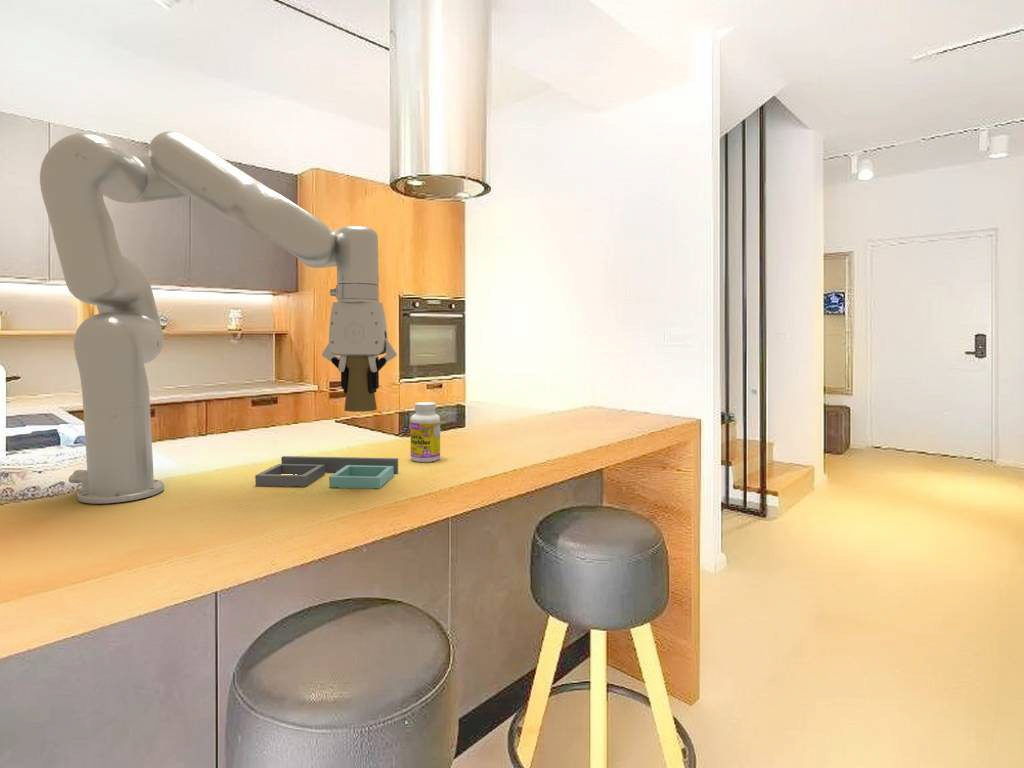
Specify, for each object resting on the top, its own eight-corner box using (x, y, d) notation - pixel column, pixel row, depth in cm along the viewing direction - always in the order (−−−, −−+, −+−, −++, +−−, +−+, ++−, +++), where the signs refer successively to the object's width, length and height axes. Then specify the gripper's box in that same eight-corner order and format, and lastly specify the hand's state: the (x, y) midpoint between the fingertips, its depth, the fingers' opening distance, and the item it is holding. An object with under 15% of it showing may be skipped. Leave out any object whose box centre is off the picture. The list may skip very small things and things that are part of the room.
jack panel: (254, 485, 107) (253, 470, 107) (283, 470, 119) (283, 456, 119) (381, 488, 106) (381, 472, 105) (398, 472, 118) (398, 458, 118)
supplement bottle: (404, 461, 128) (404, 404, 127) (420, 455, 134) (419, 400, 133) (431, 464, 126) (430, 405, 125) (445, 458, 132) (445, 402, 131)
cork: (368, 412, 106) (367, 352, 105) (338, 411, 107) (336, 352, 106) (382, 408, 112) (381, 351, 111) (353, 407, 113) (352, 351, 112)
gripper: (306, 293, 104) (309, 394, 106) (397, 293, 103) (398, 395, 105) (322, 296, 112) (324, 390, 113) (407, 296, 111) (408, 391, 112)
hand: (360, 391), depth 109 cm, fingers closed on cork, 4 cm apart
